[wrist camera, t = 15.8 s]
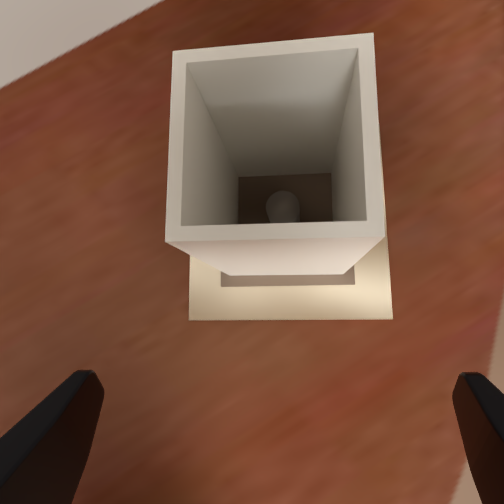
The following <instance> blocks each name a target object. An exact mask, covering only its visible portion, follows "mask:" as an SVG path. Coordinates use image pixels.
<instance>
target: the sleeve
mask: <svg viewBox="0 0 504 504" xmlns="http://www.w3.org/2000/svg"><path fill="white" fill-rule="evenodd" d="M317 173H331V183H332V212H333V222H305V223H270V224H238V177H251V176H273V175H295V174H317ZM384 237H385V226H384V208H383V191H382V174H381V156H380V139H379V121H378V104H377V87H376V69H375V52H374V35H373V33H365V34H354V35H343V36H332V37H321V38H310V39H299V40H288V41H277V42H266V43H255V44H245V45H234V46H223V47H212V48H201V49H190V50H179V51H173V58H172V82H171V106H170V130H169V155H168V179H167V203H166V228H165V242H166V243H168V244H170V245H172V246H174V247H176V248H178V249H180V250H182V251H184V252H185V253H187V254H189V255H191V256H193V257H195V258H197V259H199V260H201V261H203V262H205V263H206V264H208V265H210V266H212V267H214V268H216V269H218V270H220V271H222V272H224V273H226V274H227V275H229V276H241V275H333V274H344V273H345V272H346V271H348V270H349V269H350V268H351V267H352V266H353V265H354V264H355V263H356V262H358V261H359V260H360V259H361V258H362V257H363V256H364V255H365V254H366V253H368V252H369V251H370V250H371V249H372V248H373V247H374V246H375V245H376V244H377V243H379V242H380V241H381V240H382V239H383V238H384Z"/></svg>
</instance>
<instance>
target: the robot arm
mask: <svg viewBox="0 0 504 504" xmlns="http://www.w3.org/2000/svg"><path fill="white" fill-rule="evenodd" d="M103 399H104V388H103V386H102V384H101V382H100V380H99V379H98V377H97V375H96V373H95V372H94V371H93V370H78V371H76V372H74V373H73V374H72V375H71V376H70V377H68V378H67V379H66V380H65V381H64V382H63V383H62V384H61V385H59V386H58V387H57V388H56V389H55V390H54V391H53V392H52V393H50V394H49V395H48V396H47V397H46V398H45V399H44V400H43V401H41V402H40V403H39V404H38V405H37V406H36V407H35V408H34V409H32V410H31V411H30V412H29V413H28V414H27V415H26V416H25V417H23V418H22V419H21V420H20V421H19V422H18V423H17V424H16V425H14V426H13V427H12V428H11V429H10V430H9V431H8V432H7V433H5V434H4V435H3V436H2V437H1V438H0V504H71V503H72V501H73V498H74V495H75V492H76V490H77V487H78V484H79V481H80V479H81V476H82V473H83V470H84V468H85V465H86V462H87V459H88V456H89V453H90V449H91V446H92V442H93V438H94V434H95V430H96V426H97V422H98V418H99V414H100V411H101V407H102V403H103ZM452 399H453V405H454V409H455V413H456V416H457V420H458V424H459V428H460V432H461V436H462V440H463V444H464V448H465V452H466V456H467V460H468V463H469V467H470V471H471V473H472V477H473V479H474V482H475V485H476V488H477V490H478V493H479V496H480V499H481V501H482V504H504V394H503V393H502V392H501V391H500V390H499V389H498V388H497V387H496V386H495V385H493V384H492V383H491V382H490V381H489V380H488V379H487V378H486V377H485V376H484V375H482V374H481V373H478V372H462V373H461V374H459V376H458V379H457V382H456V385H455V388H454V390H453V395H452Z"/></svg>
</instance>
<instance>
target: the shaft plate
mask: <svg viewBox="0 0 504 504" xmlns="http://www.w3.org/2000/svg"><path fill="white" fill-rule="evenodd" d="M379 139H380V126H379ZM380 156H381V174H382V191H383V208H384V226H385V237H384V238H383V239H382V240H381V241H380V242H379V243H377V244H376V245H375V246H374V247H373V248H372V249H371V250H370V251H369V252H368V253H366V254H365V255H364V256H363V257H362V258H361V259H360V260H359V261H358V262H356V263H355V264H354V265H353V266H352V267H351V268H350V269H349V270H348V271H346V272H345V273H344V274H333V275H241V276H229V275H227V274H226V273H224V272H222V271H220V270H218V269H216V268H214V267H212V266H210V265H208V264H206V263H205V262H203V261H201V260H199V259H197V258H195V257H193V256H191V255H190V284H189V320H335V319H393V314H392V300H391V285H390V271H389V256H388V242H387V227H386V213H385V199H384V184H383V170H382V155H381V141H380ZM305 222H333V212H332V183H331V173H317V174H295V175H273V176H251V177H238V224H270V223H305Z"/></svg>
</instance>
